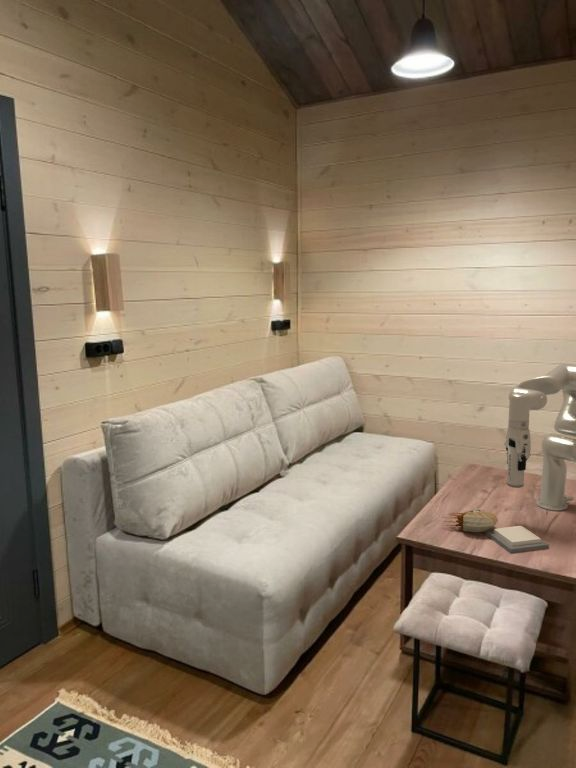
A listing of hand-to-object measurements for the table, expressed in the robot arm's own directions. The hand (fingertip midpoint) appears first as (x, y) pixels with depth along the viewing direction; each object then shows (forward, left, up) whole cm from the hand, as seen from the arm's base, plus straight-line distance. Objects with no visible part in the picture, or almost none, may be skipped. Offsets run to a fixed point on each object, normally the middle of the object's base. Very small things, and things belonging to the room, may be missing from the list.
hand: (516, 466), depth 234 cm
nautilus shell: (+20, +1, -24) cm, 31 cm away
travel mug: (0, 0, -8) cm, 8 cm away
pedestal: (+9, +15, -24) cm, 29 cm away
